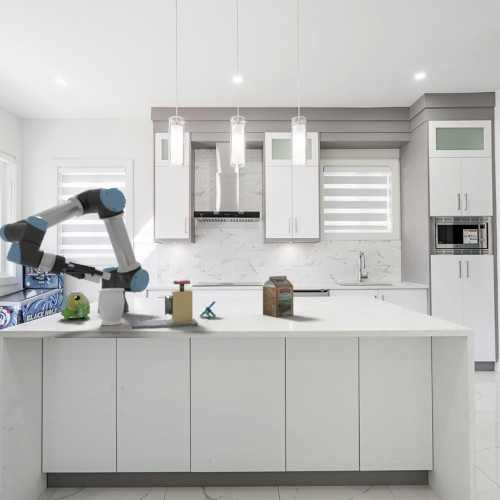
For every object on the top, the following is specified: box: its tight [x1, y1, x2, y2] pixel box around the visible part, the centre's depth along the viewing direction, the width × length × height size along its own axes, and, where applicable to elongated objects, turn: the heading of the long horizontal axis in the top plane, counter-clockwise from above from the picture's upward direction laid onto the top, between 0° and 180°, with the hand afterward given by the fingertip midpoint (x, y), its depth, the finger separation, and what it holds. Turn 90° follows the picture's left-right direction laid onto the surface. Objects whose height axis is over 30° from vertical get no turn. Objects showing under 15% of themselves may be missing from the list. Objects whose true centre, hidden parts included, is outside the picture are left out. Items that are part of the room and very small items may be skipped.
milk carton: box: [262, 275, 294, 318], centre depth 190 cm, size 11×11×19 cm
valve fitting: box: [131, 279, 199, 330], centre depth 164 cm, size 13×26×18 cm, turn 104°
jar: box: [97, 288, 124, 327], centre depth 166 cm, size 11×10×15 cm
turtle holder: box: [60, 291, 91, 322], centre depth 179 cm, size 12×18×12 cm
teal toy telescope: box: [199, 300, 216, 319], centre depth 184 cm, size 11×6×10 cm
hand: (104, 278), depth 166 cm, fingers open, 13 cm apart
